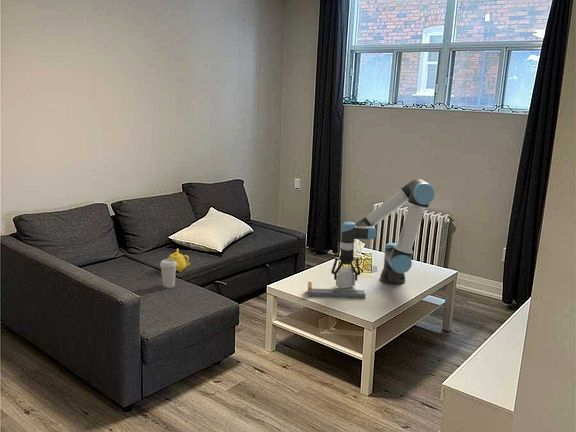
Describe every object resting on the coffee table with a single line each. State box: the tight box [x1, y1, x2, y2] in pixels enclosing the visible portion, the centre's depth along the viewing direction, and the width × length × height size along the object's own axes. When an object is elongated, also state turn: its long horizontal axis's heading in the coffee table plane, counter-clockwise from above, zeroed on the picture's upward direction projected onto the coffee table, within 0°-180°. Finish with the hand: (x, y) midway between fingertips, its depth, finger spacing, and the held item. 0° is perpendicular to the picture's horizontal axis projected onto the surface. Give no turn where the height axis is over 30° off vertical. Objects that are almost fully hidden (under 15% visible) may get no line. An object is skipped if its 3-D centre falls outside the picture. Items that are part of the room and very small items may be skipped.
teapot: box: [167, 248, 191, 273], centre depth 344 cm, size 20×15×12 cm
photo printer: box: [336, 266, 355, 290], centre depth 323 cm, size 10×4×12 cm, turn 123°
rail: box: [307, 281, 367, 300], centre depth 311 cm, size 32×9×6 cm, turn 88°
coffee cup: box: [159, 258, 177, 289], centre depth 317 cm, size 10×10×15 cm
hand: (345, 285), depth 324 cm, fingers closed on photo printer, 10 cm apart
